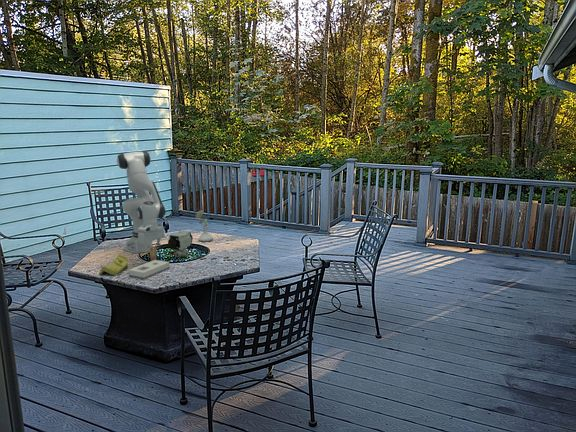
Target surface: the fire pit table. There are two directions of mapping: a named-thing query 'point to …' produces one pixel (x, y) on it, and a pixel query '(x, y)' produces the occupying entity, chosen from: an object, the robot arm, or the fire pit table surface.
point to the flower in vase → (205, 235)
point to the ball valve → (180, 242)
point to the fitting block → (149, 269)
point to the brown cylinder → (153, 253)
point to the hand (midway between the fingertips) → (152, 247)
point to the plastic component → (116, 265)
